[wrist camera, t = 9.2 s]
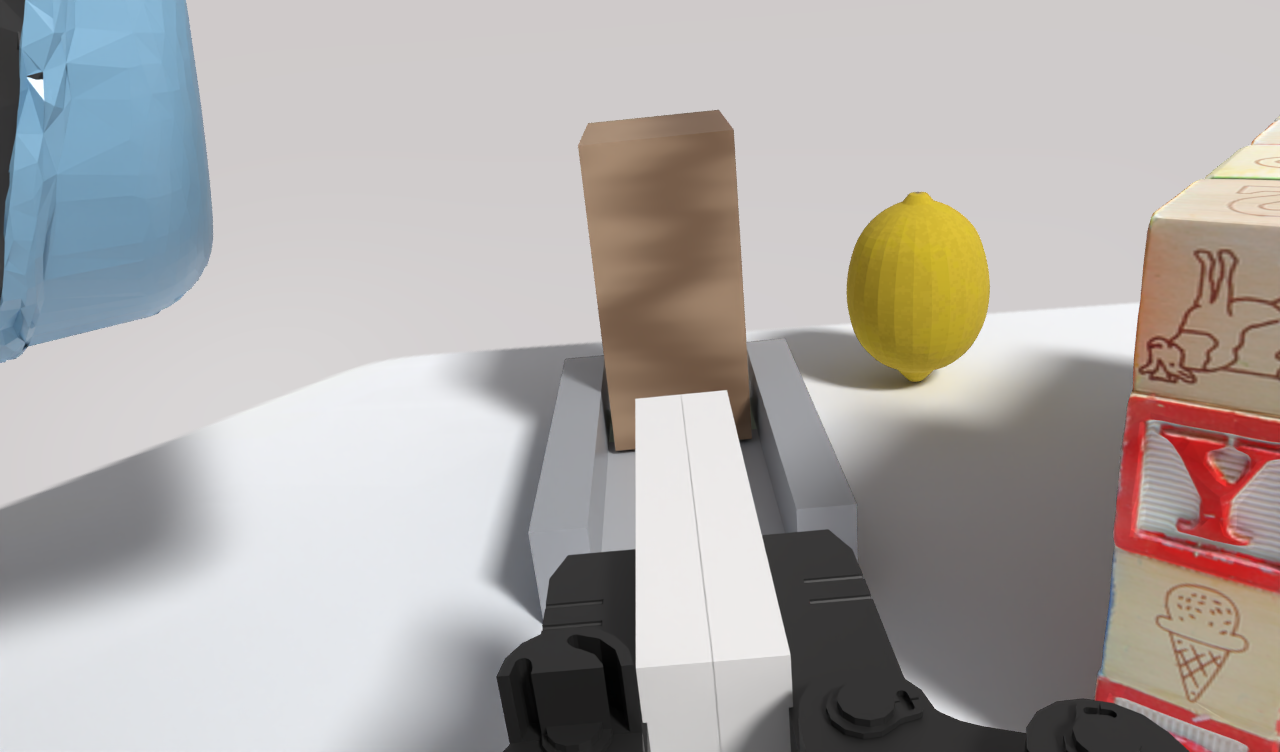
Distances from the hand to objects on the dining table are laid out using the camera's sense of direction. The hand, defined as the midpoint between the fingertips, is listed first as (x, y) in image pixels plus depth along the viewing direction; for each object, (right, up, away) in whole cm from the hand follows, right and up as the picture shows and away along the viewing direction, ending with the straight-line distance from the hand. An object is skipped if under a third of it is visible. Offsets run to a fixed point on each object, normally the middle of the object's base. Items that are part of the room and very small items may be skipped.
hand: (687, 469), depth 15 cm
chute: (+1, -3, +16) cm, 16 cm away
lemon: (+11, +1, +23) cm, 26 cm away
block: (+1, 0, +21) cm, 21 cm away
